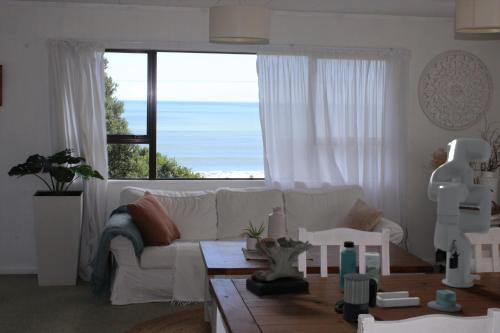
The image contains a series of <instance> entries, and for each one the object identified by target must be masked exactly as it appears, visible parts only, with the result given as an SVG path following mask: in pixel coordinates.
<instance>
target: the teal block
mask: <svg viewBox="0 0 500 333" xmlns="http://www.w3.org/2000/svg"><path fill="white" fill-rule="evenodd" d="M435 293H436V294H435V296H436V297H435V299H436V300H435V301H436V304H437V305H439V306H441V307H443V308H444V307H455V306H456V302H457V293H456V292H454V291H452V290H450V289H437V290H436V292H435Z"/></svg>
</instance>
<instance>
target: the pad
mask: <svg viewBox="0 0 500 333" xmlns="http://www.w3.org/2000/svg"><path fill="white" fill-rule="evenodd" d="M427 307H428V308H430V309H432V310H434V311H439V312H445V313H446V312H447V313H451V312H452V313H453V312H454V313H455V312H459V311H462V305H461V304H459V303H456V306H455V307H444V308H443V307H441V306H439V305H437V304H436V300H431V301H429V302H428V303H427Z"/></svg>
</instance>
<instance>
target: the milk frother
mask: <svg viewBox="0 0 500 333" xmlns="http://www.w3.org/2000/svg"><path fill="white" fill-rule="evenodd" d="M343 277H344V289H343V299H342V300H339V301H337V302H335V303H334V305H333V309H334V310H335V311H337V312H340V313H342V314H343V315H342V316H341V317H342V319H343V320H346V321H347V322H352V323H353V322H354V323H355V321H357V319H358V315H359V314H369V315H370V310H369V309H370V308H371V309H375V308H376V306H377V305H376V299H377V293H378V290H377V282H376V280H374V279H373V278H370V276H369V275H366V274H364V273H357V272H356V273H349V274H345V275H344V276H343Z"/></svg>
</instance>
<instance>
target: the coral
mask: <svg viewBox="0 0 500 333" xmlns="http://www.w3.org/2000/svg"><path fill="white" fill-rule="evenodd" d="M276 242H277V243H278V244H279V245H277V246H276ZM254 246H255V249H256V250H257V251H258V252H259V253H260V254H261V255H262V257H263V258H265V259H267V261H268V262H269V269H268V270H262V269H261V270H255V271H254V272H253V273H252V274H251V275H250V277H249V278H246V279H245V288H246V289H247V290H248V291H250V292H252V293H254V294H255V295H257V296H258V297H264V296H265V297H266V295H267V296H276V295H283V294H284V295H285V294H294V292H296V293H304V292H305V291H306V292H309V291H310V290H309V289H310V287H309V286H310V282H308V281H307V280H305V279H304V278H305V274H304V273H305V271H304V270H301V271H300V270H299V269H297V268H296V266H293V263H294V261H295V259H296V258H298V256H300V255H301V254H303V253H304V252H307V251H308V250H310V249H312V248H313V247H314V245H313V244H312V243H310V242H309V240H307V241H305V242H304V241H302V240H298V241H297V240H293V239H292V238H291V237H289V239H288V240H287V238H286V237H285V236H283V237H279V238H276V241H275V240H268V241H267V240H266V241H265V242H264V244H263V243H262V242H259V241H257V242H256V243H255V244H254ZM306 292H305V293H306Z"/></svg>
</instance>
